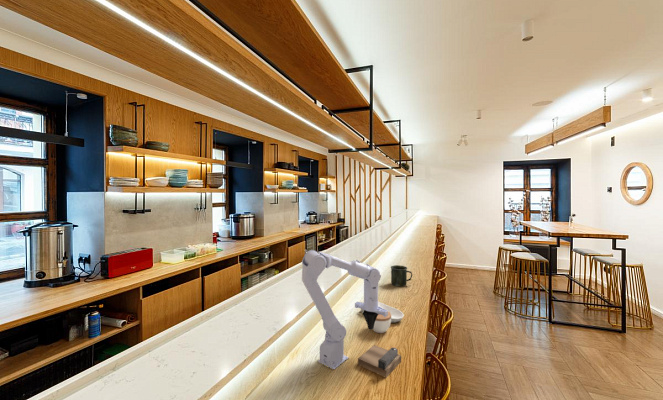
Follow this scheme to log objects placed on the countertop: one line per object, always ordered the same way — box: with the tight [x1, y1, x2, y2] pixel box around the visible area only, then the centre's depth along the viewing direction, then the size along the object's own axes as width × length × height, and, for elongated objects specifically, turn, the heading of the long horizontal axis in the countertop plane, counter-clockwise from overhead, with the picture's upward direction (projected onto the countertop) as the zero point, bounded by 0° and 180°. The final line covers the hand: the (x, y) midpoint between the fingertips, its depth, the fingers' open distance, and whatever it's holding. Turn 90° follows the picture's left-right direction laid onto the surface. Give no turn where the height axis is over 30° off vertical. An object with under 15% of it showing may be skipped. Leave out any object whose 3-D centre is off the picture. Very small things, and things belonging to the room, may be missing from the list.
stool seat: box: [357, 344, 402, 378], centre depth 111 cm, size 12×12×3 cm
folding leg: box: [378, 347, 399, 370], centre depth 108 cm, size 11×2×2 cm, turn 142°
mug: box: [390, 264, 413, 288], centre depth 200 cm, size 11×15×12 cm
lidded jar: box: [372, 311, 392, 334], centre depth 137 cm, size 11×11×9 cm
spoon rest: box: [360, 300, 405, 323], centre depth 151 cm, size 24×12×7 cm, turn 51°
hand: (370, 328), depth 119 cm, fingers closed
